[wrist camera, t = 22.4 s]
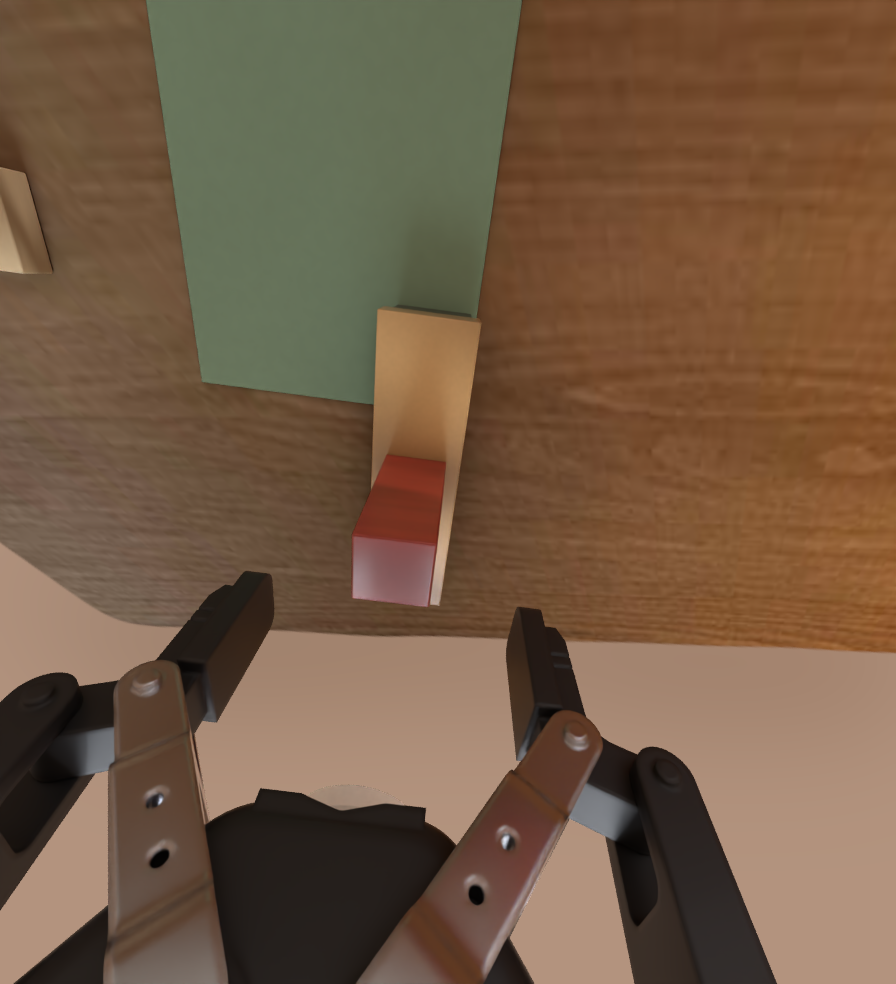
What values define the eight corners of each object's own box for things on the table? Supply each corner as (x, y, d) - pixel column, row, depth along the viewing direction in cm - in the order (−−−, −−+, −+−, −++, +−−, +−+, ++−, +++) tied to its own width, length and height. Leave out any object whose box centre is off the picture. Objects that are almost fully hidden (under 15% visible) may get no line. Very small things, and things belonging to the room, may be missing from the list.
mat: (462, 415, 23) (462, 416, 23) (204, 381, 23) (201, 382, 22) (534, -86, 15) (534, -90, 14) (127, -149, 14) (122, -155, 14)
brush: (442, 573, 28) (430, 716, 19) (376, 565, 28) (333, 705, 19) (479, 315, 20) (488, 353, 11) (388, 303, 20) (327, 332, 11)
